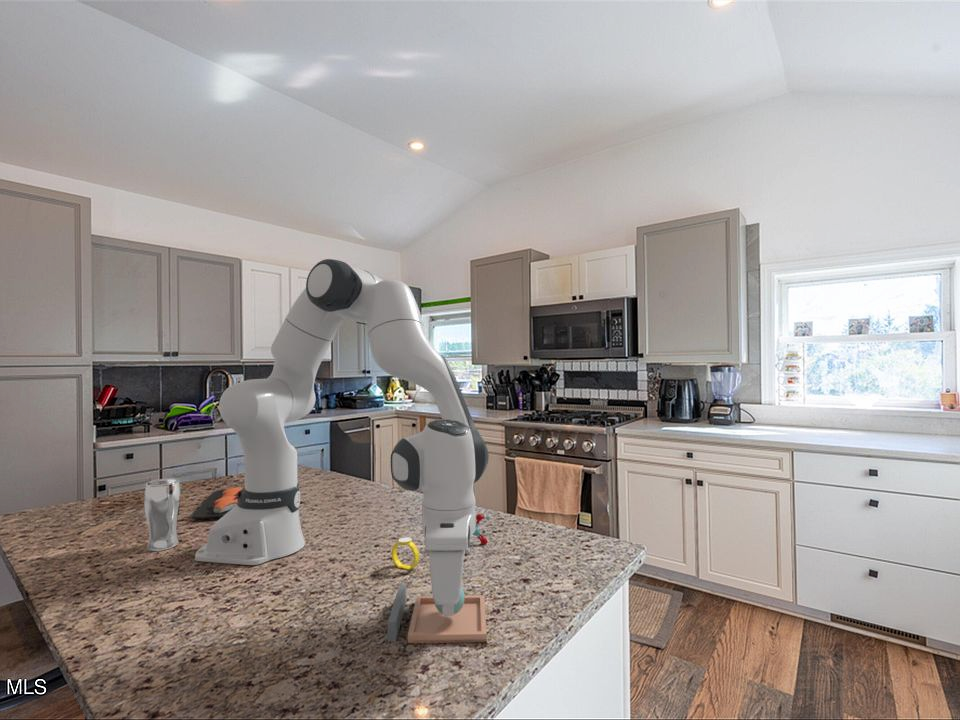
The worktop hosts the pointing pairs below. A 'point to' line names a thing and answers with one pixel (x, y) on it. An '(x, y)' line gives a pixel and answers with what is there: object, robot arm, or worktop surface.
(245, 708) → the worktop surface
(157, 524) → the beer glass
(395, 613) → the block
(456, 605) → the ball
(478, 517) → the molecular model
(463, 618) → the dish
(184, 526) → the worktop surface
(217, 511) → the sushi plate
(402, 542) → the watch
